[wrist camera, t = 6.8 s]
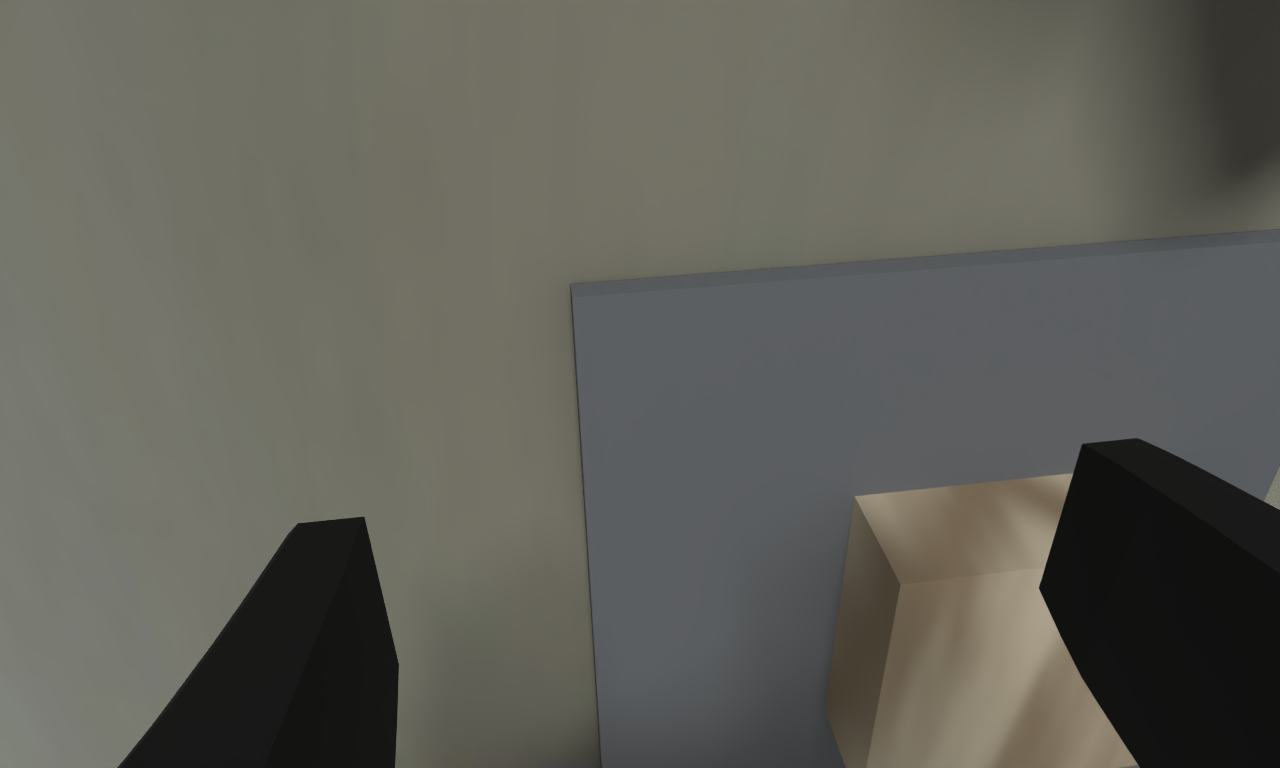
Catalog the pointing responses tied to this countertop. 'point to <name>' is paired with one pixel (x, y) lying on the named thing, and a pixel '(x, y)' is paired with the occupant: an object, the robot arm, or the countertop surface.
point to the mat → (867, 446)
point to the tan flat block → (959, 636)
